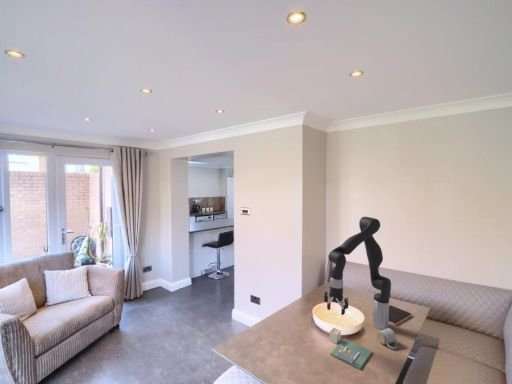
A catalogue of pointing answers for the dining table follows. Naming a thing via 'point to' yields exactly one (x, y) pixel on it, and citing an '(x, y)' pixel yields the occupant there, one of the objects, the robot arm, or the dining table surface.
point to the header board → (351, 353)
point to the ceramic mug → (387, 337)
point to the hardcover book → (397, 315)
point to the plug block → (335, 335)
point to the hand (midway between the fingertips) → (335, 312)
